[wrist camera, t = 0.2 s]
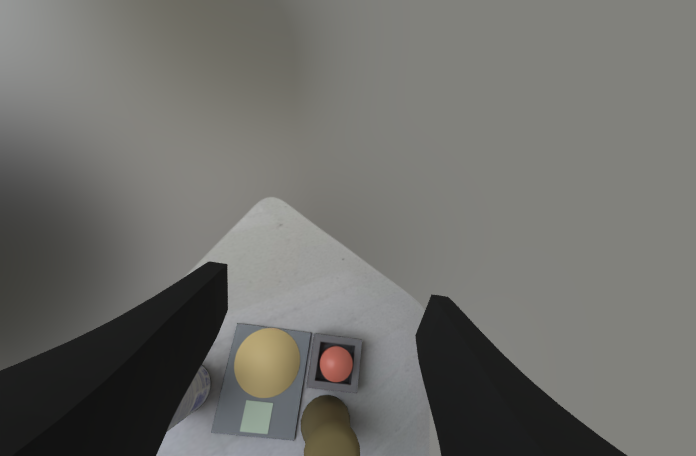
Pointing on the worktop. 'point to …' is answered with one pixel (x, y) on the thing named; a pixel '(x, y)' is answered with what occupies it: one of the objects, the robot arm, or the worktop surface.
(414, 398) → the worktop surface
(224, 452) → the worktop surface
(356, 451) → the olive knobbed peg
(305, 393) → the worktop surface
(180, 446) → the worktop surface
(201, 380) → the beverage can
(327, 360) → the button
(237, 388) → the grey kitchen scale
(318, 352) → the button housing
